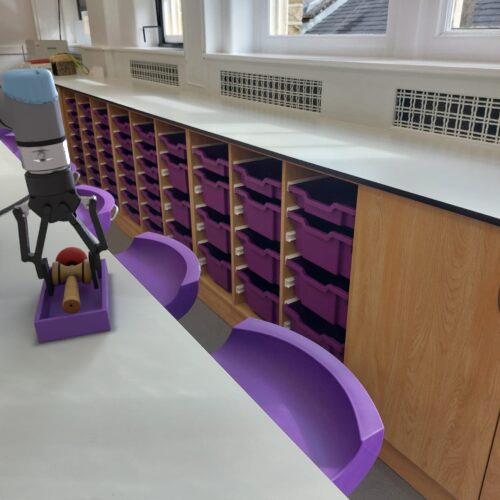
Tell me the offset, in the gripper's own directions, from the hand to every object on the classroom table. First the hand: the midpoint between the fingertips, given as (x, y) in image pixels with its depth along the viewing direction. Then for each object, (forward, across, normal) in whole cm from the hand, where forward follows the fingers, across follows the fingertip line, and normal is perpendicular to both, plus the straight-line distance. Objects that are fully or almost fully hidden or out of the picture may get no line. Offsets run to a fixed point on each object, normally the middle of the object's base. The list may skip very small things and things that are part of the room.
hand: (74, 288), depth 90 cm
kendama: (+1, 0, 0) cm, 1 cm away
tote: (+4, 0, 0) cm, 4 cm away
